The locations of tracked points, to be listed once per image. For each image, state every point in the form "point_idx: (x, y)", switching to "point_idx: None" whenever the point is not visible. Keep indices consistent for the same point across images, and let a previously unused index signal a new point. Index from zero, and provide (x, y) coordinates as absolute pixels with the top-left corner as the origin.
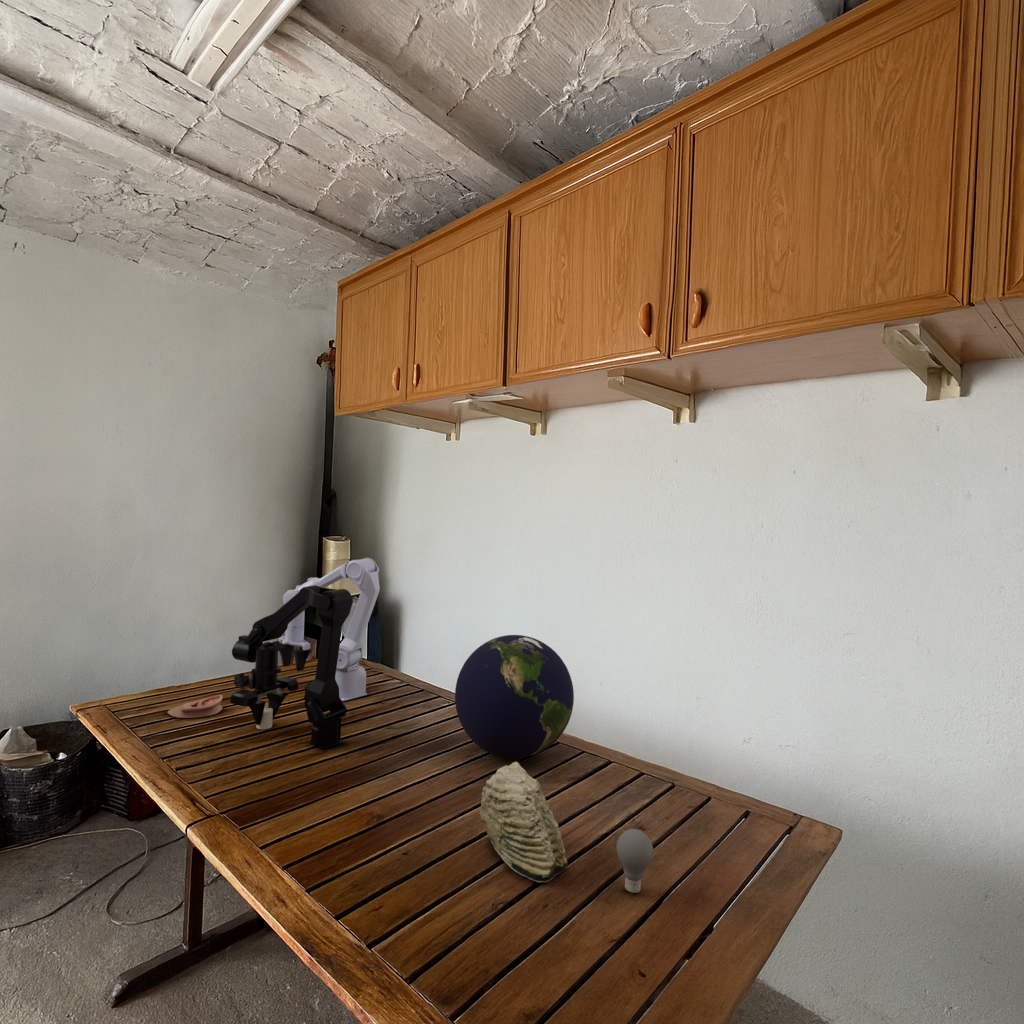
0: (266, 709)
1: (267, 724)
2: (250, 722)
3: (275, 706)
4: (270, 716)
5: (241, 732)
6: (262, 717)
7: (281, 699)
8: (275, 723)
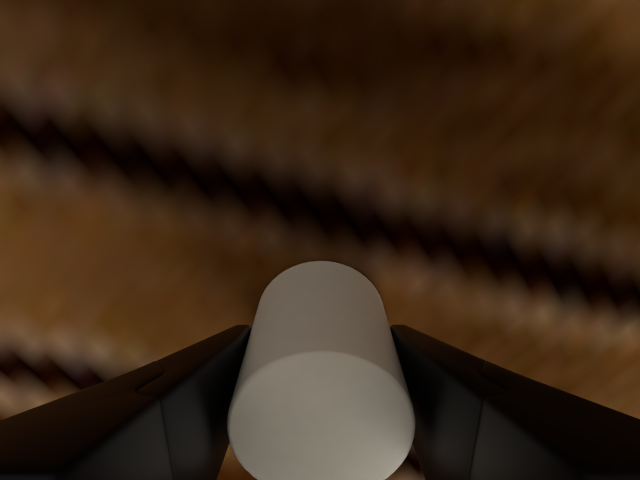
0: (299, 430)
1: (348, 280)
2: None
3: (195, 397)
4: (315, 314)
5: (499, 364)
6: (393, 353)
7: (77, 426)
8: (210, 304)
